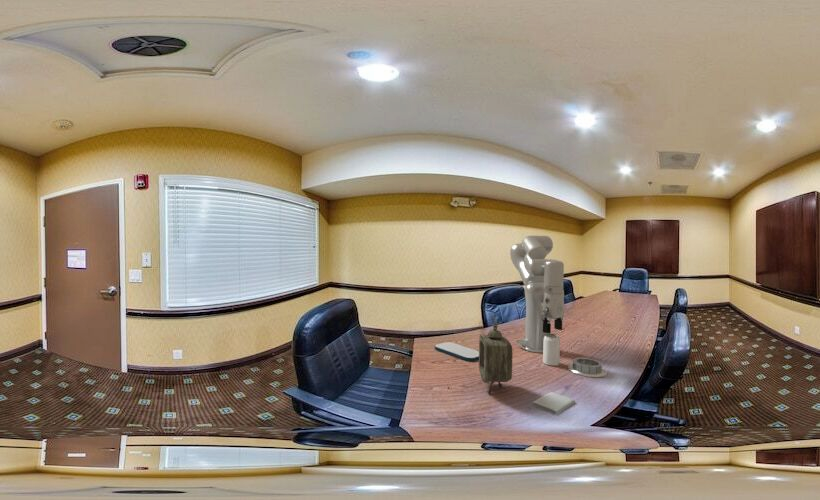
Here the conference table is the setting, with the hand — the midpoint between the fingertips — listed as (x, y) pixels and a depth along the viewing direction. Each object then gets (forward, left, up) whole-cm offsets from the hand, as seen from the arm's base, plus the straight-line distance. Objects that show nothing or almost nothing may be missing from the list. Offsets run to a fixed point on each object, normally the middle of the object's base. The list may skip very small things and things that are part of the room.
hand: (552, 331), depth 155 cm
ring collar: (+12, -6, -14) cm, 19 cm away
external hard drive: (-38, +11, -15) cm, 42 cm away
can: (0, +1, -14) cm, 14 cm away
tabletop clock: (-28, -26, -14) cm, 41 cm away
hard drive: (-11, -37, -15) cm, 42 cm away
